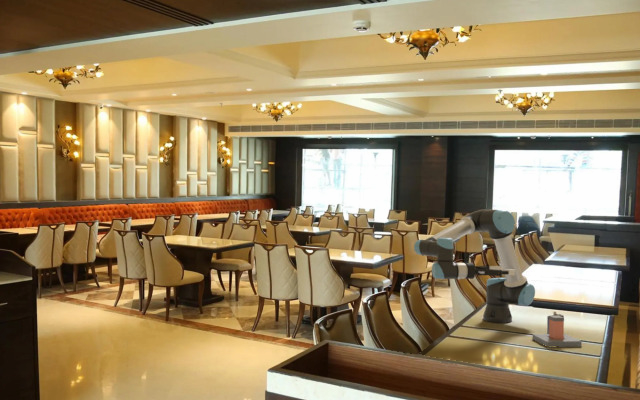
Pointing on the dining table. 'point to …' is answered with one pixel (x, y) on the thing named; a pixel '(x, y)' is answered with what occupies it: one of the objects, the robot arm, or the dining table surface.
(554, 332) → the plug
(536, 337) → the socket plate
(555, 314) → the flask
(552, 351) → the dining table surface
